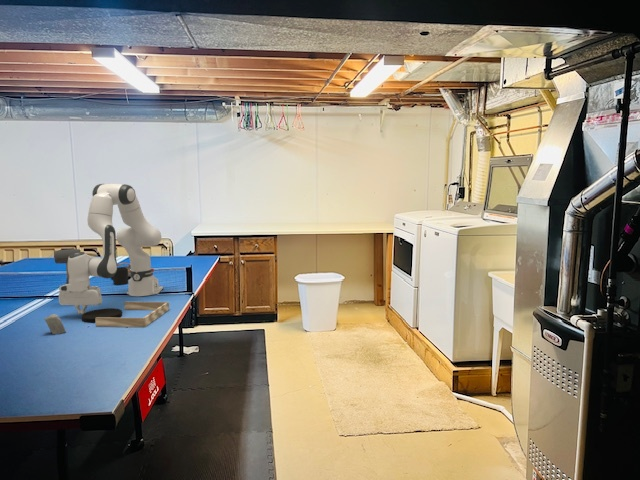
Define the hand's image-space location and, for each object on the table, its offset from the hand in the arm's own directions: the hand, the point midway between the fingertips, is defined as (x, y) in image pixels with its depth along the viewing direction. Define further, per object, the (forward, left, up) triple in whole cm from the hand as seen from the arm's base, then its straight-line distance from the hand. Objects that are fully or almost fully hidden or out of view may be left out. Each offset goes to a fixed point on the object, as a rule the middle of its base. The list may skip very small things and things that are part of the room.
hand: (81, 313), depth 224 cm
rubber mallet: (-22, -19, -2) cm, 29 cm away
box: (0, +26, -2) cm, 26 cm away
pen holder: (-71, -17, -2) cm, 73 cm away
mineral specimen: (+23, +2, -2) cm, 23 cm away
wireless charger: (0, +10, -2) cm, 10 cm away
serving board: (-101, -28, -2) cm, 105 cm away
